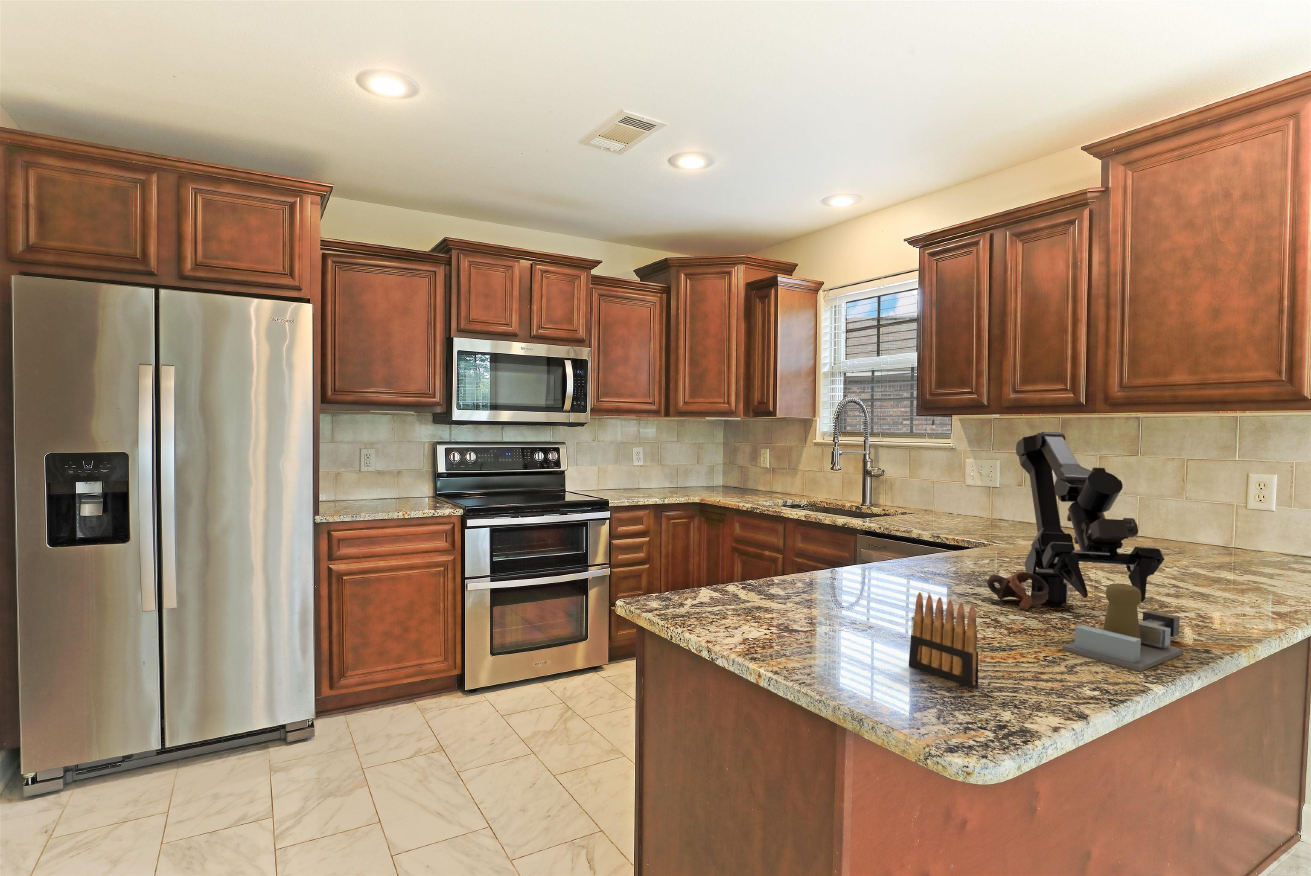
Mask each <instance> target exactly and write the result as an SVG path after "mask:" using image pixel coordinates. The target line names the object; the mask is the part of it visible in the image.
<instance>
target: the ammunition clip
mask: <svg viewBox="0 0 1311 876" xmlns="http://www.w3.org/2000/svg"><path fill="white" fill-rule="evenodd" d="M915 599H916V600H915V605H914V606H915V608H914V609H915V610H914V615H913V619H912V620H913V621H912V634H911V635H910V645H909V654H908V655H909V656H908V667H910V668H913V669H915V670H917V671H921V672H924V673H927V674H929V675H933V676H936V677H938V678H942V679H944V680H947V681H949V682H953V683H955V684H958V685H961V686H965V687H966V688H970V689H972V688H976V687H978V686H979V651H978V649H977V648H978V632H977V615H976V608H975V607H974V604H971V605H970V607H969V610H968V614H967V620H966V615H965V614H966V613H965V607H964V604H963V602H962V601H960V602H959V604H958V607H957V610H956V618H954V616H955V613H954V611H955V610H954V603H953V601H952V599H949V600H948V601H947V604H946V608H945V616H944V605H943V600H942V597H940V596H939V597H938V598H937V600H936V605H935V610H934V602H933V597H932V595H931V594H928V596H927V598H926V602H925V606H924V600H923V595H922V593H921V592H920V591H919V592H918V593H917V596H916V598H915ZM924 607H925V608H924ZM934 611H935V612H934ZM944 617H945V618H944ZM955 619H956V620H955ZM965 621H967V623H966V622H965Z"/></svg>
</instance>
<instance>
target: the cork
mask: <svg viewBox="0 0 1311 876" xmlns="http://www.w3.org/2000/svg"><path fill="white" fill-rule="evenodd" d="M1105 598H1106V600H1107V601H1108V605H1107V608H1106V609H1107V610H1106V614H1105V620H1104V624H1103V628H1102V630H1106V631H1110V632H1114V633H1118V634H1122V635H1126V636H1130V637H1135V638H1139V639H1140V631H1139V621H1140V620H1139V613H1138V612H1139V611H1138V605H1140V603H1141V592H1140V590H1139V589H1138V588H1136V587H1134V586H1132V584H1128V583H1117V582H1116V583H1110V584H1108V585H1107V587H1106V589H1105ZM1140 652H1141V648H1140Z"/></svg>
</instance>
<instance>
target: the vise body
mask: <svg viewBox="0 0 1311 876" xmlns="http://www.w3.org/2000/svg"><path fill="white" fill-rule="evenodd" d="M1173 641H1174V637H1170V642H1173ZM1140 648H1141V652H1140ZM1061 649H1062V651H1065V652H1067V653H1071V654H1075V655H1079V656H1081V657H1085V658H1088V659H1094V660H1097V661H1100V662H1103V663H1108V664H1111V665H1115V666H1118V667H1123V668H1126V669H1130V670H1133V671H1136V672H1140V673H1141V672H1143V671H1146V670H1148V669H1150V668H1153V667H1155V666H1157V665H1160V664H1163V663H1165V662H1167V661H1170V660H1172V659H1174V658H1177V657H1180V656H1182V655H1183V653H1184V649H1182V648H1177V647H1174V646H1171V645H1170V647H1167V648H1165V649H1164V648H1160V647H1156V646H1152V645H1148V644H1144V643H1141V639H1139V638H1135V637H1130V636H1126V635H1122V634H1118V633H1114V632H1110V631H1106V630H1103V629H1101V628H1097V627H1092V626H1088V625H1084V624H1081V625H1078V626H1075V627H1074V641H1073V642H1069V643H1066V644H1063V645H1062V647H1061Z"/></svg>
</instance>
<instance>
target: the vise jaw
mask: <svg viewBox="0 0 1311 876" xmlns="http://www.w3.org/2000/svg"><path fill="white" fill-rule="evenodd" d="M1180 618H1181V617H1180V616H1178V615H1174V614H1169V613H1163V612H1160V611H1154V610H1149V609H1148V610H1145V611H1142V621H1140V620H1138V621H1139V631H1140V639H1141V643H1144V644H1148V645H1152V646H1156V647H1160V648H1164V649H1165V648H1167V647H1170V646H1171V641H1170V638H1174V637H1177V636H1180Z"/></svg>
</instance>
